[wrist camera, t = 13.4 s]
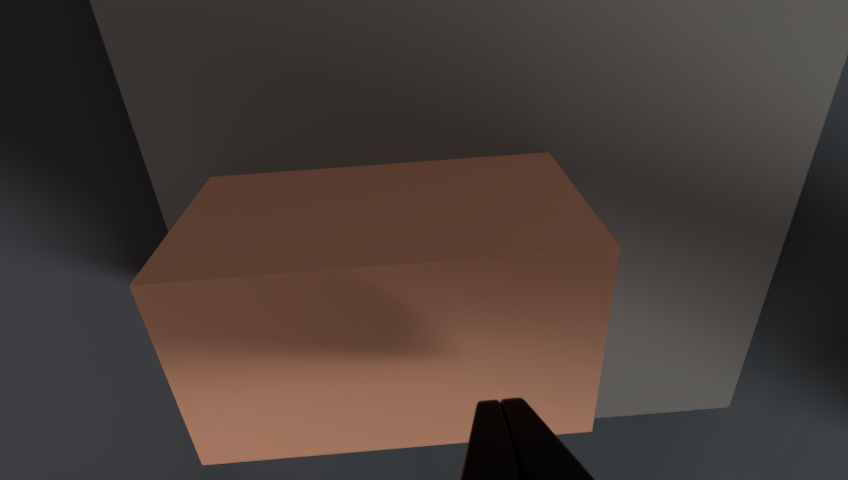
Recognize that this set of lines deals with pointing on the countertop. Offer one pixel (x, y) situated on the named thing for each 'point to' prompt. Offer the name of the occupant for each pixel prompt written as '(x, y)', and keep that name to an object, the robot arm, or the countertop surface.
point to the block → (379, 305)
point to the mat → (523, 132)
